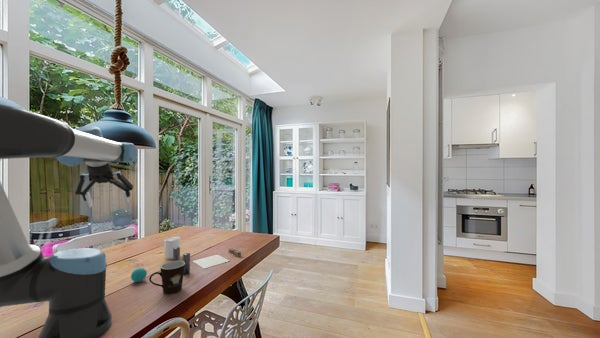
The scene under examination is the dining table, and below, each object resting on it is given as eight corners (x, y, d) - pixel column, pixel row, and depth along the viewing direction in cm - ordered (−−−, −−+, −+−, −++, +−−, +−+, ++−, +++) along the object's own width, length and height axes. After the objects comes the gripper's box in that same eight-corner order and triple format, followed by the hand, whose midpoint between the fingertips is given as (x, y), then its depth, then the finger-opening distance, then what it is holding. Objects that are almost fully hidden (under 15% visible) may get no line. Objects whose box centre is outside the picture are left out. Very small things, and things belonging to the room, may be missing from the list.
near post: (190, 273, 106) (191, 254, 106) (184, 275, 104) (184, 255, 104) (188, 271, 108) (188, 252, 108) (181, 273, 106) (181, 254, 106)
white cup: (160, 258, 125) (160, 240, 125) (171, 254, 133) (172, 236, 133) (172, 260, 123) (172, 241, 123) (183, 255, 131) (183, 237, 131)
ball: (148, 281, 98) (148, 268, 98) (132, 285, 94) (132, 272, 94) (144, 277, 102) (145, 264, 102) (129, 281, 98) (129, 268, 98)
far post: (180, 266, 115) (180, 247, 115) (174, 267, 113) (174, 249, 113) (178, 264, 117) (178, 246, 117) (171, 266, 115) (172, 247, 115)
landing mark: (229, 261, 122) (229, 260, 122) (203, 268, 111) (203, 268, 111) (217, 254, 131) (217, 254, 131) (192, 261, 121) (192, 261, 121)
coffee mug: (185, 283, 96) (186, 259, 97) (183, 293, 88) (183, 267, 89) (153, 288, 92) (154, 263, 92) (148, 299, 84) (148, 271, 84)
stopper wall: (240, 256, 129) (241, 252, 129) (237, 257, 127) (237, 252, 127) (231, 252, 136) (231, 248, 136) (228, 253, 134) (228, 248, 134)
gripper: (135, 157, 105) (143, 196, 114) (62, 160, 95) (78, 202, 104) (131, 165, 99) (140, 205, 108) (54, 168, 89) (71, 212, 98)
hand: (109, 204), depth 106 cm, fingers open, 13 cm apart
